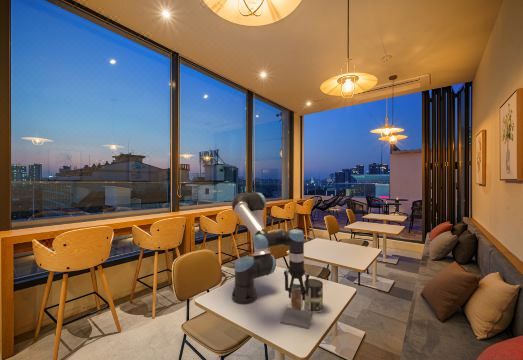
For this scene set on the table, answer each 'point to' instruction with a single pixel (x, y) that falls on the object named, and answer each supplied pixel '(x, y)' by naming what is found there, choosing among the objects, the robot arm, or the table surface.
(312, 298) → the coffee can
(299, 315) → the slate coaster
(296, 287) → the walnut block
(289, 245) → the robot arm
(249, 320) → the table surface
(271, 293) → the table surface
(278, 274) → the table surface
